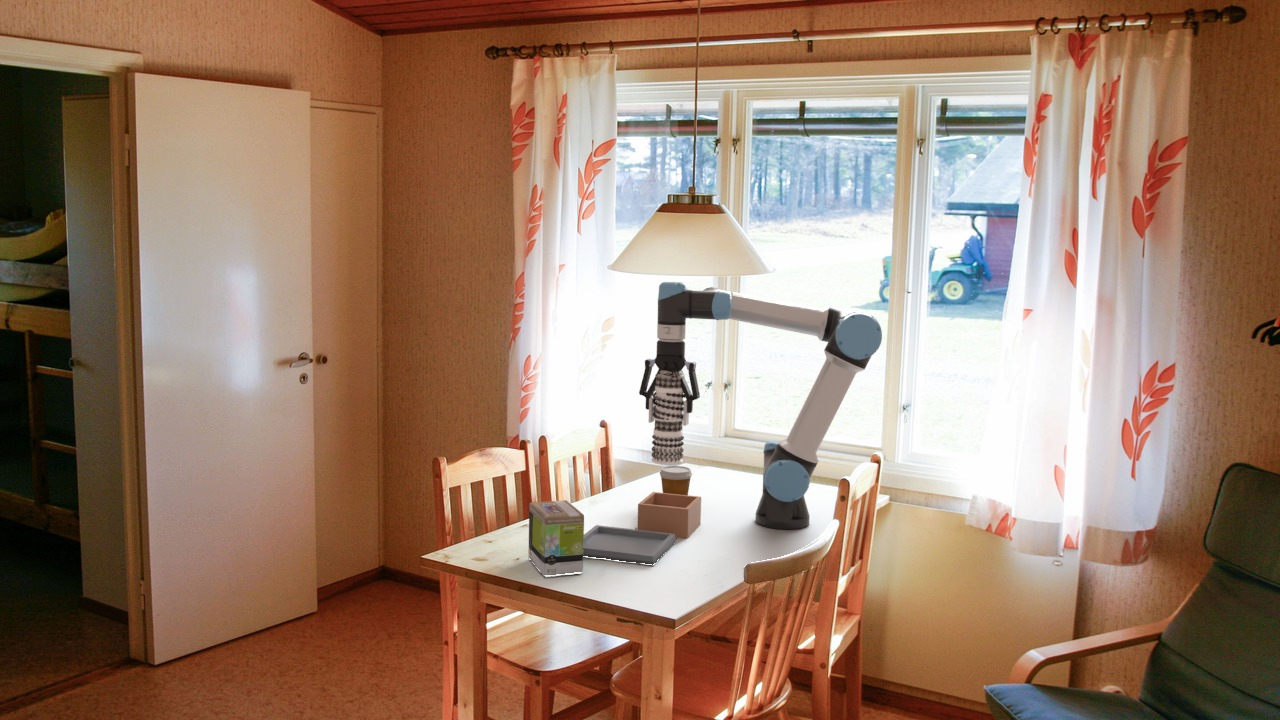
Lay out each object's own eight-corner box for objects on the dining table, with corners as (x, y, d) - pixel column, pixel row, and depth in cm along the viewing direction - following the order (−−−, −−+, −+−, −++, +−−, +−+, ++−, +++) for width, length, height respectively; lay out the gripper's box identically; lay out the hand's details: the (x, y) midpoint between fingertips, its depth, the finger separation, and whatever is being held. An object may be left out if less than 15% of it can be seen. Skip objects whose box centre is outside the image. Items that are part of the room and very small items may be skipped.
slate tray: (675, 543, 272) (675, 533, 272) (653, 566, 253) (653, 556, 253) (596, 534, 278) (596, 525, 278) (568, 555, 260) (569, 546, 259)
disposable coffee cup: (692, 505, 309) (693, 466, 308) (690, 514, 300) (691, 473, 298) (660, 504, 310) (661, 464, 309) (657, 512, 301) (658, 472, 299)
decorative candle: (689, 459, 284) (692, 369, 280) (677, 466, 275) (680, 373, 272) (657, 456, 287) (661, 366, 284) (645, 462, 279) (648, 370, 275)
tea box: (584, 575, 246) (585, 514, 244) (543, 579, 242) (543, 517, 240) (566, 556, 260) (567, 498, 258) (527, 559, 256) (527, 501, 254)
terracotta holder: (700, 524, 289) (701, 496, 288) (687, 538, 276) (688, 509, 275) (652, 519, 293) (653, 491, 292) (637, 533, 280) (637, 504, 279)
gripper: (627, 339, 277) (625, 422, 280) (706, 343, 270) (703, 429, 273) (636, 336, 284) (634, 417, 287) (714, 341, 277) (711, 424, 280)
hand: (668, 423), depth 280 cm, fingers closed on decorative candle, 9 cm apart
